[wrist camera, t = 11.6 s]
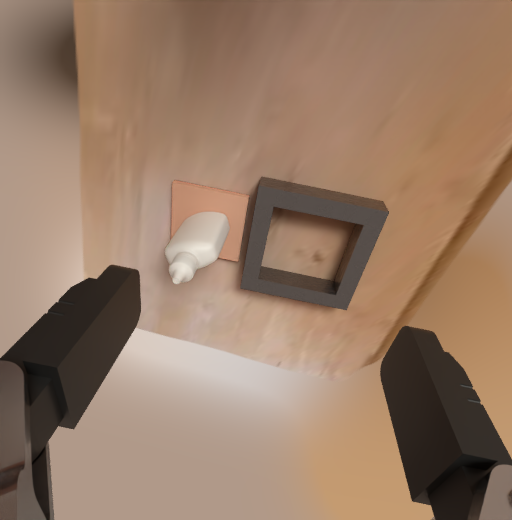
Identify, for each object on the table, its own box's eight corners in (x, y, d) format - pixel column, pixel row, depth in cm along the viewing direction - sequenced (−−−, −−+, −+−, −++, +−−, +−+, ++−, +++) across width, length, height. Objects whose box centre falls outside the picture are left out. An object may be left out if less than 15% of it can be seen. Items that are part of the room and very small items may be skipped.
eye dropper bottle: (224, 245, 41) (200, 307, 30) (182, 231, 40) (143, 289, 30) (234, 216, 38) (210, 272, 28) (189, 200, 38) (149, 252, 28)
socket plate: (261, 176, 36) (258, 185, 34) (382, 201, 36) (389, 212, 33) (243, 275, 44) (240, 288, 41) (343, 295, 44) (346, 310, 41)
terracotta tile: (174, 180, 37) (172, 182, 37) (249, 195, 37) (248, 197, 37) (172, 244, 42) (170, 247, 42) (239, 258, 42) (238, 261, 42)
